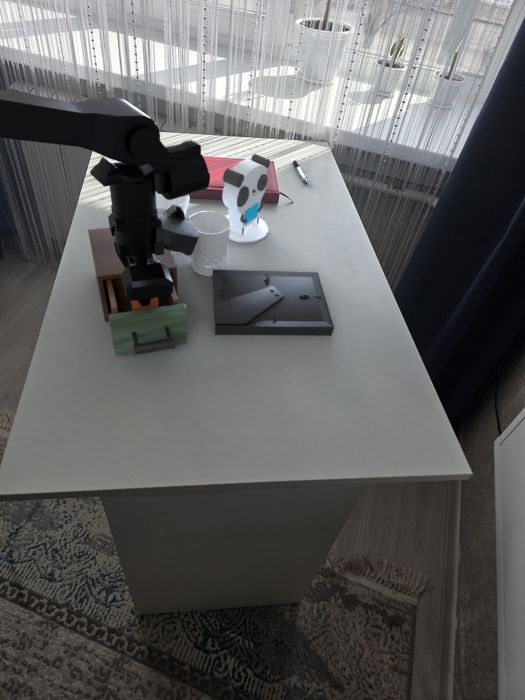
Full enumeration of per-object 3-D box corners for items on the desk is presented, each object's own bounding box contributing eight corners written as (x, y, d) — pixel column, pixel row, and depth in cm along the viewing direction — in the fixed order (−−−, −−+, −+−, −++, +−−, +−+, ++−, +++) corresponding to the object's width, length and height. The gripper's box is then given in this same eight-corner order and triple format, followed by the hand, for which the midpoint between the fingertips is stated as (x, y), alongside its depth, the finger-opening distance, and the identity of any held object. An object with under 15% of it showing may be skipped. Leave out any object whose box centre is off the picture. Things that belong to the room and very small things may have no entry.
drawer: (193, 362, 74) (193, 327, 69) (119, 376, 71) (113, 340, 65) (170, 296, 85) (169, 260, 79) (105, 304, 81) (99, 268, 76)
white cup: (203, 283, 90) (204, 238, 82) (180, 262, 93) (179, 217, 86) (235, 270, 94) (239, 226, 86) (212, 250, 97) (214, 207, 90)
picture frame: (214, 334, 80) (331, 335, 83) (215, 322, 78) (335, 324, 81) (212, 278, 91) (315, 280, 94) (212, 266, 89) (318, 269, 92)
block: (132, 311, 72) (130, 291, 69) (128, 295, 75) (126, 275, 72) (158, 307, 74) (157, 287, 71) (153, 291, 76) (152, 272, 73)
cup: (199, 235, 101) (199, 195, 94) (168, 255, 95) (166, 214, 88) (163, 218, 104) (162, 178, 97) (131, 236, 98) (127, 195, 91)
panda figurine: (247, 250, 99) (253, 183, 88) (205, 229, 103) (206, 163, 92) (277, 227, 106) (287, 163, 96) (237, 209, 110) (242, 145, 99)
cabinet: (178, 311, 83) (177, 267, 77) (104, 321, 80) (96, 276, 73) (162, 266, 92) (160, 223, 85) (96, 273, 88) (87, 229, 81)
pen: (310, 185, 122) (311, 181, 121) (304, 185, 122) (305, 181, 121) (296, 161, 131) (297, 157, 131) (290, 161, 131) (291, 157, 130)
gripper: (211, 239, 59) (208, 328, 70) (178, 171, 71) (180, 256, 82) (120, 248, 55) (132, 341, 67) (102, 175, 67) (114, 264, 78)
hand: (142, 296), depth 73 cm, fingers closed on block, 4 cm apart
